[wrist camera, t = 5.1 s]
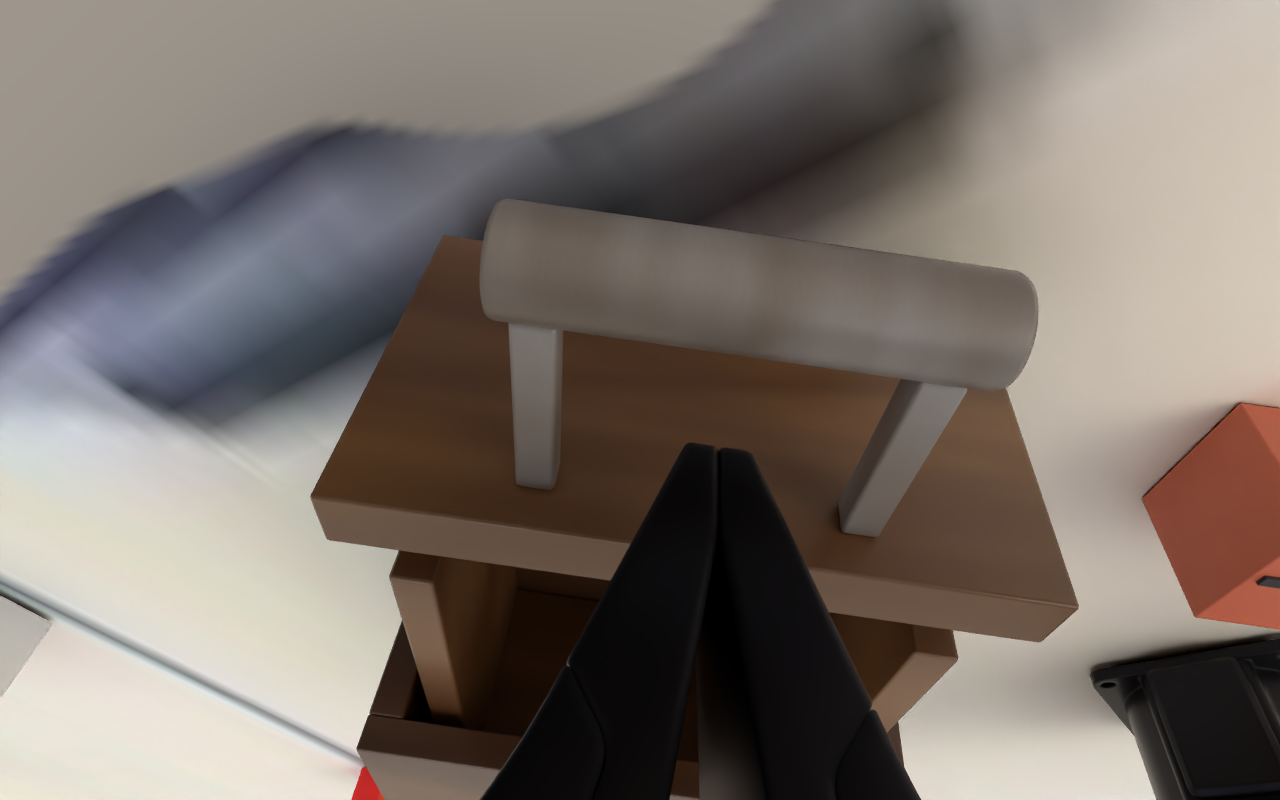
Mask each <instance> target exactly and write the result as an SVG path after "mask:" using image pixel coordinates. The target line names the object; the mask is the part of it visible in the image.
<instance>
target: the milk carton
mask: <svg viewBox="0 0 1280 800" xmlns="http://www.w3.org/2000/svg"><path fill="white" fill-rule="evenodd" d="M51 624H52V623H51V622H49V621H47V620H46V619H44V618H42V617H40V616H38V615H36V614H35V613H33V612H31V611H29V610H27V609H25V608H23V607H21V606H19V605H17V604H16V603H14V602H12V601H10V600H8V599H6V598H4V597H2V596H0V699H1V697H2V696H3V694H4V693H5V691H6V690H7V689H8V687H9V686H10V684H11V683H12V682H13V680H14V679H15V677H16V676H17V674H18V673H19V672H20V670H21V669H22V667H23V666H24V665H25V663H26V662H27V660H28V659H29V657H30V656H31V655H32V653H33V652H34V650H35V649H36V647H37V646H38V645H39V643H40V642H41V640H42V639H43V638H44V636H45V635H46V633H47V632H48V630H49V629H50V627H51Z"/></svg>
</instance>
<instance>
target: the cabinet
mask: <svg viewBox="0 0 1280 800" xmlns="http://www.w3.org/2000/svg"><path fill="white" fill-rule="evenodd" d="M887 734H888V736H889V738H890V740H891V742H892V745H893V746H894V748H895V750H896V752H897V754H898V756H899V758H900V760H901V762H902V764H903V766H904V762H903V754H902V747H901V739H900V732H899V724H898V722H897V723H896V724H895V725H894V726H893V727H892V728H891V729H890V730H889V731H888V732H887ZM521 739H522V737H521V736H514V735H507V734H500V733H494V732H487V731H480V730H473V729H466V728H459V727H452V726H445V725H438V724H434V721H433V718H432V715H431V712H430V708H429V705H428V702H427V699H426V695H425V692H424V689H423V686H422V682H421V679H420V676H419V673H418V669H417V666H416V663H415V660H414V656H413V653H412V650H411V647H410V643H409V640H408V637H407V634H406V630H405V627H404V624H403V621H402V622H401V624H400V627H399V630H398V633H397V636H396V639H395V641H394V644H393V647H392V650H391V653H390V655H389V658H388V661H387V664H386V667H385V670H384V672H383V675H382V678H381V681H380V684H379V687H378V689H377V692H376V695H375V698H374V701H373V704H372V706H371V709H370V715H369V716H368V717H367V720H366V723H365V726H364V729H363V731H362V734H361V737H360V740H359V743H358V746H357V752H358V753H359V755H360V757H361V759H362V760H363V762H364V764H365V766H366V767H367V769H368V771H369V773H370V774H371V776H372V778H373V780H374V782H375V783H376V785H377V787H378V789H379V790H380V792H381V794H382V796H383V797H384V799H385V800H480V798H481V797H482V796H483V794H484V793H485V791H486V790H487V789H488V787H489V786H490V784H491V783H492V782H493V780H494V779H495V777H496V776H497V774H498V773H499V771H500V770H501V768H502V767H503V765H504V764H505V762H506V761H507V759H508V758H509V756H510V755H511V753H512V752H513V751H514V749H515V748H516V746H517V745H518V743H519V742H520V740H521ZM670 800H700V796H699V762H694V761H687V760H680V759H677V762H676V767H675V773H674V778H673V784H672V789H671V794H670Z"/></svg>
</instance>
